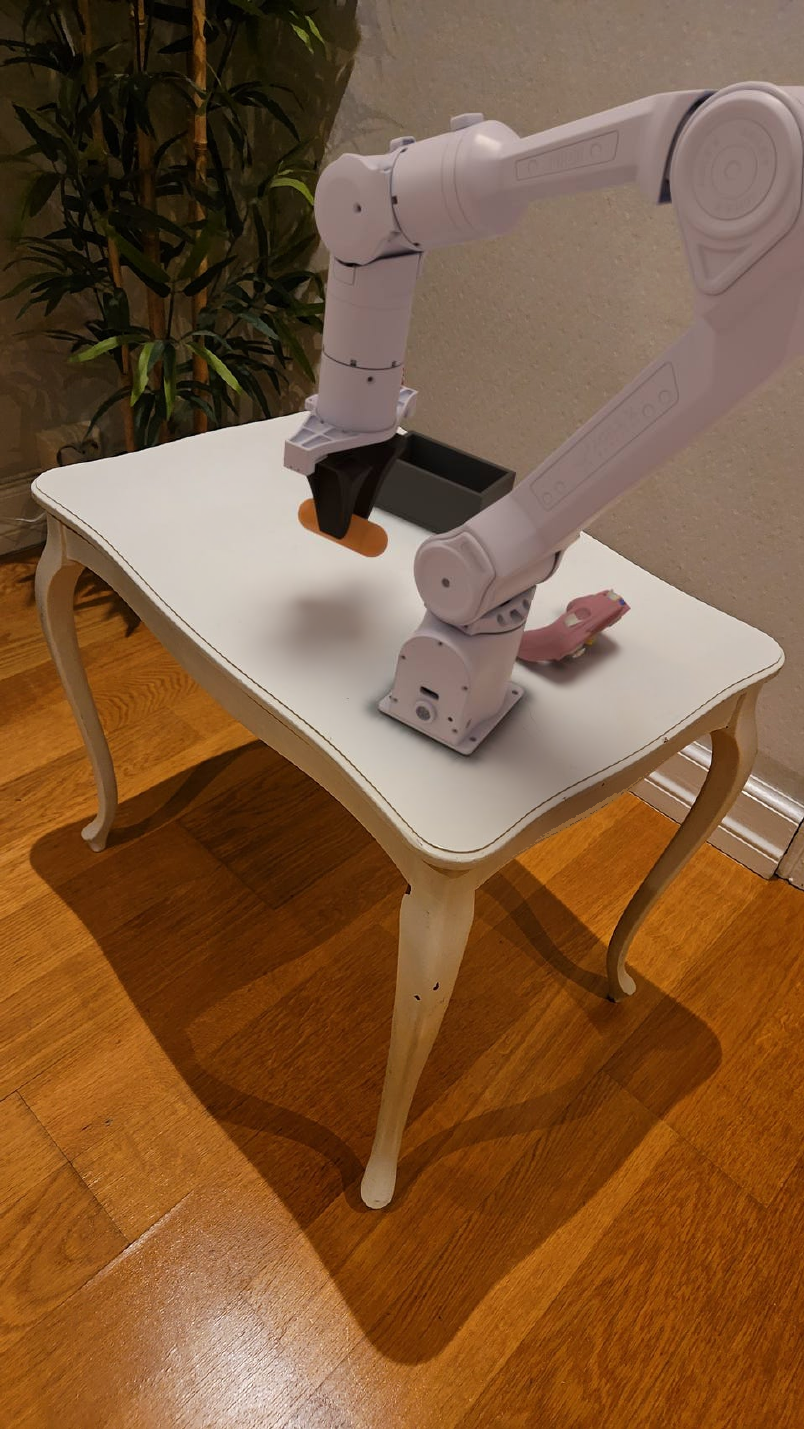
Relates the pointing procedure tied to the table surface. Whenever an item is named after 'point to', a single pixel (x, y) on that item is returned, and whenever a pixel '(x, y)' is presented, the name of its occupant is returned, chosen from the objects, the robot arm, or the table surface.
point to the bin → (441, 484)
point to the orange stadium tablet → (348, 532)
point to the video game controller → (573, 627)
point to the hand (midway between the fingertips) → (343, 526)
